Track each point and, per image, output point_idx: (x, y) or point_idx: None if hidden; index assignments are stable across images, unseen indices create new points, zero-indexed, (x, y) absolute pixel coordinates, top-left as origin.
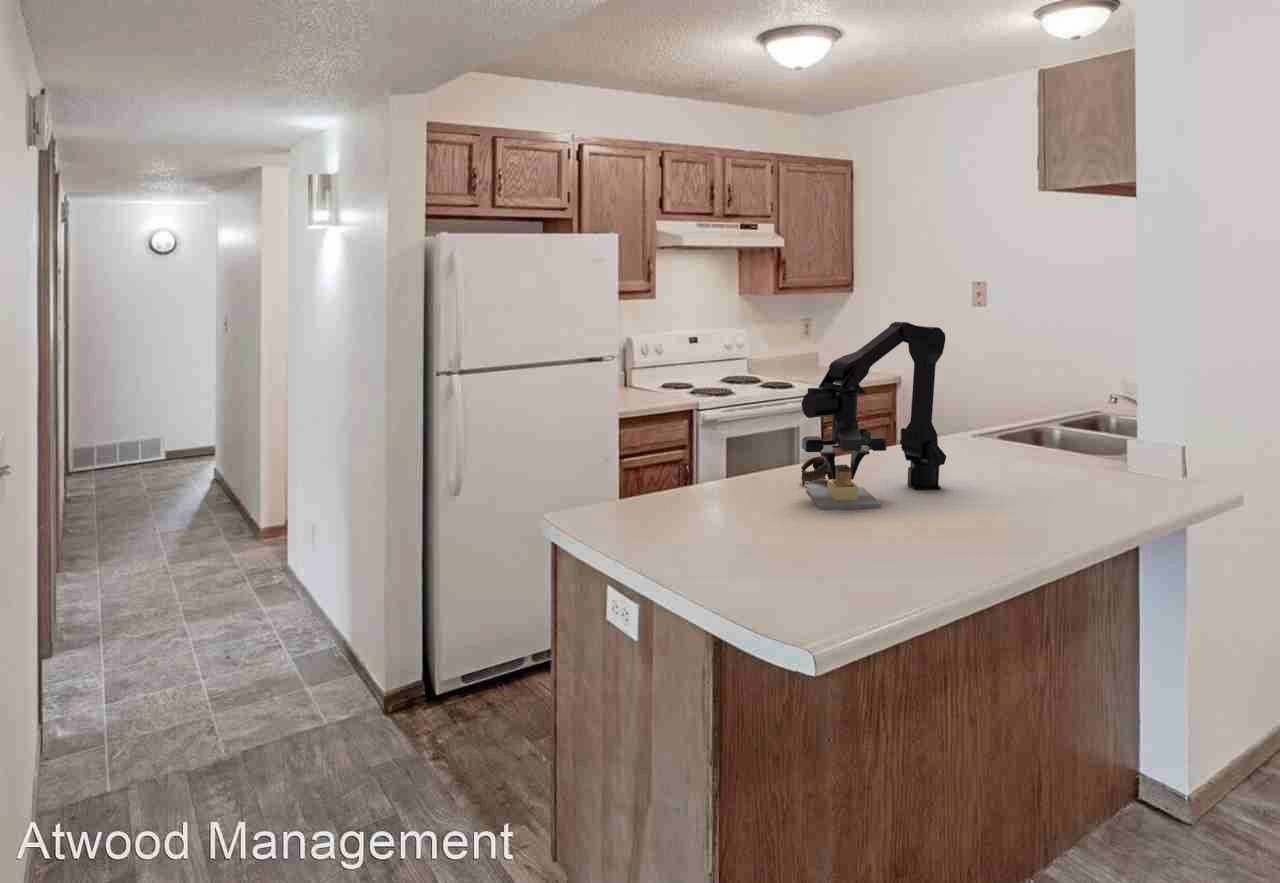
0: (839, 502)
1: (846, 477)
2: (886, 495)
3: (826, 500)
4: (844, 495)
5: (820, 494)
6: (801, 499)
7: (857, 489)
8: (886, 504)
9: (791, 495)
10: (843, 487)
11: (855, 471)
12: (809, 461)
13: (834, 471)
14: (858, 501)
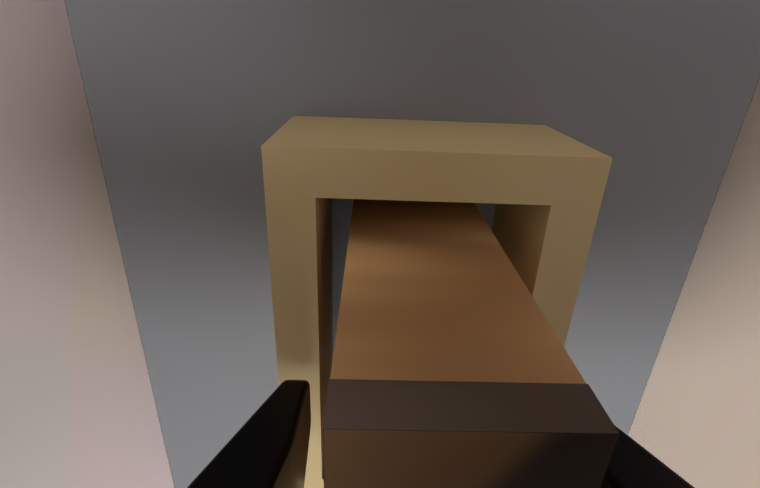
0: (533, 20)
1: (429, 308)
2: (15, 354)
3: (632, 130)
4: (450, 132)
5: (583, 341)
6: (726, 313)
7: (280, 139)
8: (10, 63)
9: (733, 416)
10: (486, 160)
11: (218, 466)
12: None
13: (634, 482)
14: (304, 38)
